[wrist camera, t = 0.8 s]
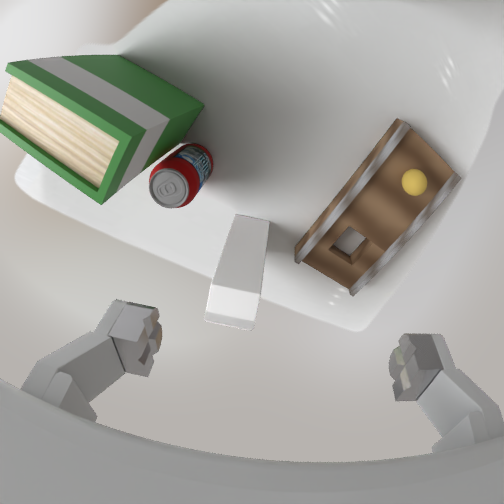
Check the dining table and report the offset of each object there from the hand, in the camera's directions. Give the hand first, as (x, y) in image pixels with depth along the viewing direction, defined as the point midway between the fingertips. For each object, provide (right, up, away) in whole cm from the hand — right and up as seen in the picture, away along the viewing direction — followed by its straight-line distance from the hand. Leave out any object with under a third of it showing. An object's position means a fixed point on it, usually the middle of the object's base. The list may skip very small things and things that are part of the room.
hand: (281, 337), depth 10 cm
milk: (-1, +6, +44) cm, 44 cm away
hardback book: (-17, +27, +33) cm, 46 cm away
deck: (+19, +10, +39) cm, 44 cm away
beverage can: (-10, +17, +38) cm, 43 cm away
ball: (+23, +13, +30) cm, 40 cm away
